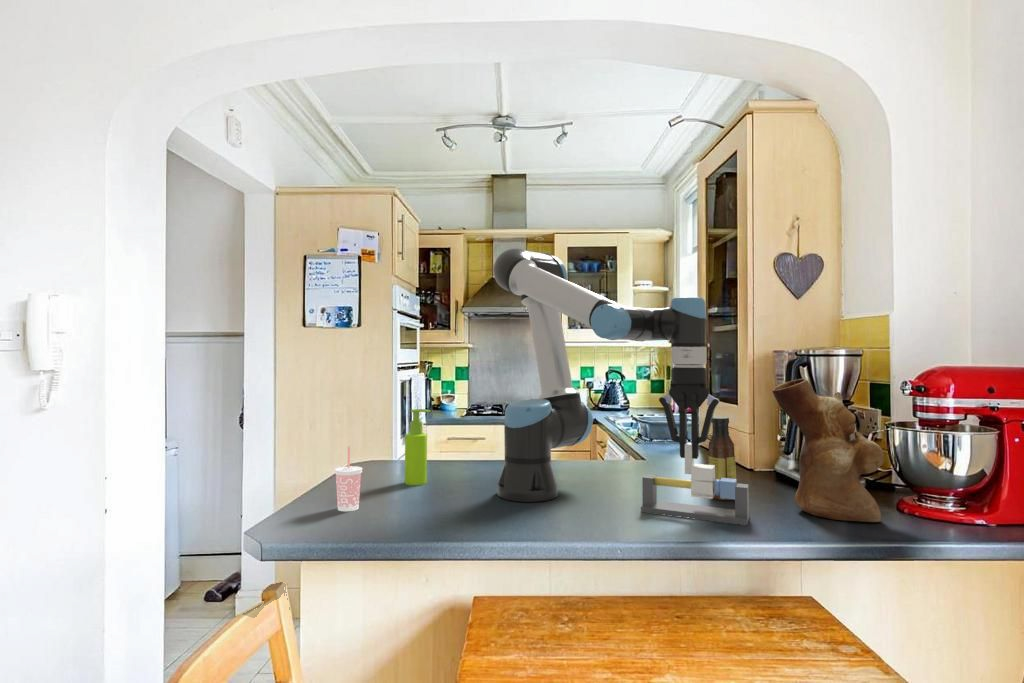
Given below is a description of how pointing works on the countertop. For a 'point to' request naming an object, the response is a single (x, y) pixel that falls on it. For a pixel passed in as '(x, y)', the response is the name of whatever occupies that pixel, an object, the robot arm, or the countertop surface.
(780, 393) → the ceramic vessel
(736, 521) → the twin post rod stand
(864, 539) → the countertop surface
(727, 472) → the sauce bottle
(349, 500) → the beverage cup
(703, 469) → the sleeve
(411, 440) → the soap dispenser
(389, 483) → the countertop surface
